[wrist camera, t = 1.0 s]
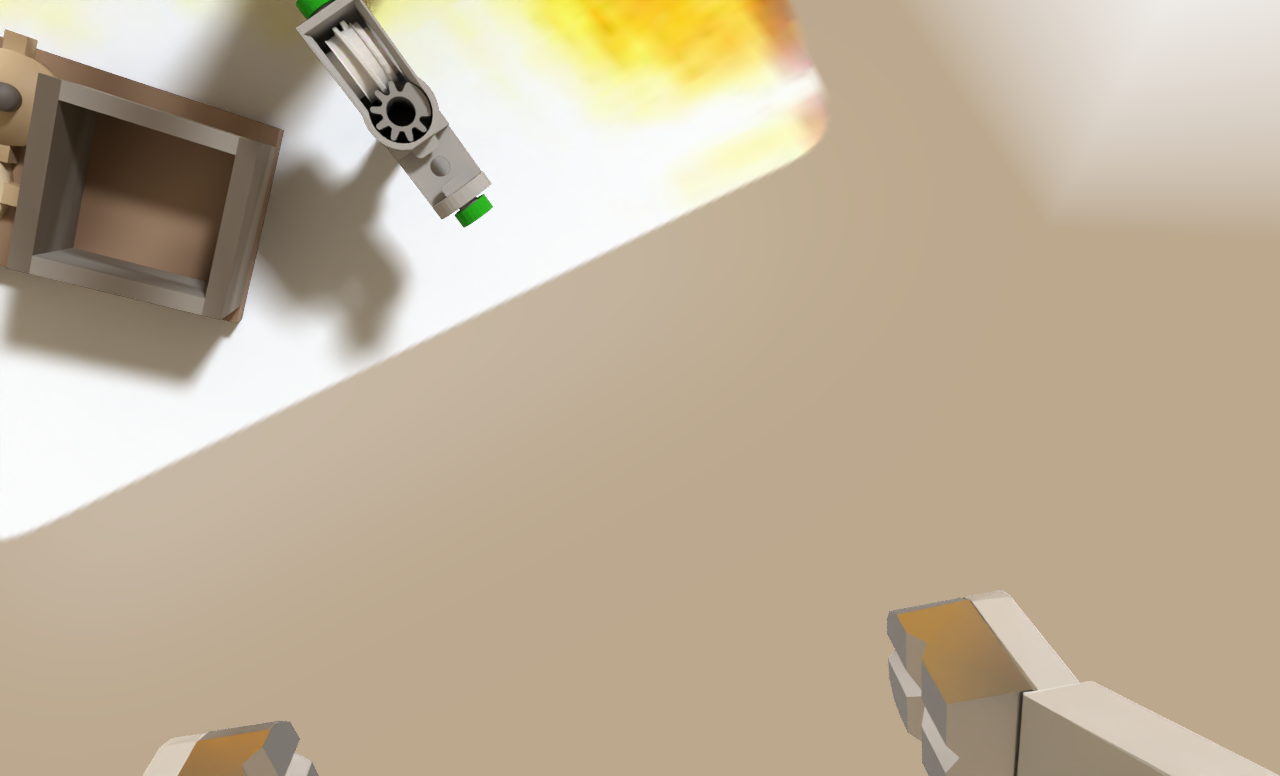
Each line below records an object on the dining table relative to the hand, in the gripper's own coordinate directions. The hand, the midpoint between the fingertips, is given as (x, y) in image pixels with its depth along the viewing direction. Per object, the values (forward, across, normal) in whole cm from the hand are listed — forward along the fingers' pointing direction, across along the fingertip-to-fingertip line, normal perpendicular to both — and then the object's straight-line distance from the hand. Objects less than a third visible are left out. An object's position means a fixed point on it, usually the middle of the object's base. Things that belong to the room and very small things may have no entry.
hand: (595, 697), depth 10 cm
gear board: (+31, +23, -7) cm, 39 cm away
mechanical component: (+34, +9, -6) cm, 36 cm away
